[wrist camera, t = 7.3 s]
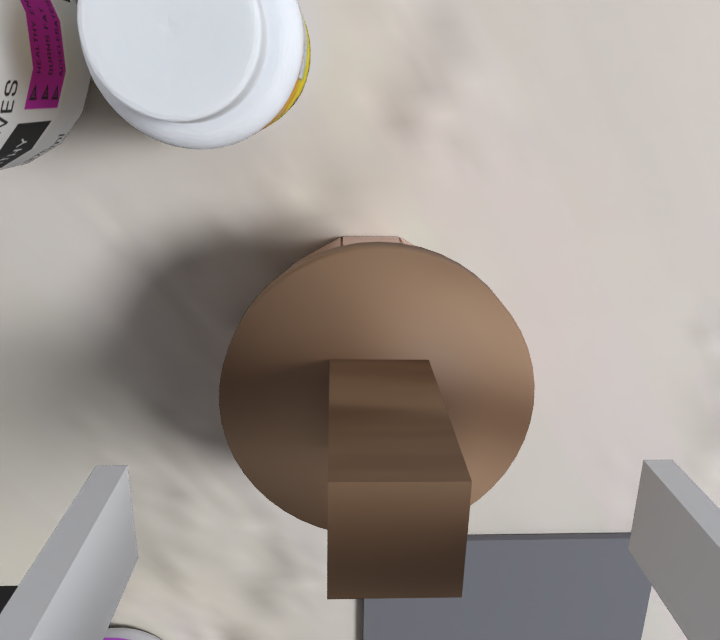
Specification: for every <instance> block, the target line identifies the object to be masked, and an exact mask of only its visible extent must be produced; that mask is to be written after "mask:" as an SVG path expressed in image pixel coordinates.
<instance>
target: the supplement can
mask: <svg viewBox="0 0 720 640" xmlns="http://www.w3.org/2000/svg"><path fill="white" fill-rule="evenodd" d="M90 79H91V74H90V71H89V69H88V66H87V64H86V61H85V58H84V55H83V51H82V46H81V42H80V36H79V32H78V25H77V4H76V1H75V0H0V170H2V169H6V168H10V167H15V166H19V165H23V164H27V163H29V162H31V161H33V160H34V159H36V158H38V157H39V156H41V155H43V154H44V153H46V152H48V151H49V150H51V149H52V148H54V147H56V146H57V145H59V144H60V143H61V142H62V140H63V139H64V138H65V136H66V135H67V133H68V132H69V131H70V129H71V128H72V126H73V125H74V124H75V122H76V121H77V120H78V118H79V117H80V115H81V114H82V112H83V108H84V104H85V100H86V96H87V92H88V87H89V83H90Z"/></svg>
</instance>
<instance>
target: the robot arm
mask: <svg viewBox="0 0 720 640" xmlns="http://www.w3.org/2000/svg"><path fill="white" fill-rule="evenodd" d="M628 550H629V551H630V553H631V554H632V556H633V557H634V559H635V560H636V562H637V563H638V565H639V566H640V568H641V569H642V571H643V572H644V574H645V576H646V577H647V579H648V580H649V582H650V583H651V585H652V586H653V588H654V589H655V591H656V592H657V594H658V595H659V597H660V598H661V600H662V601H663V603H664V604H665V606H666V607H667V609H668V610H669V612H670V613H671V615H672V616H673V618H674V619H675V621H676V622H677V624H678V625H679V627H680V628H681V630H682V631H683V633H684V635H685V636H686V638H687V639H688V640H720V509H719V508H718V507H717V506H716V505H715V504H714V503H713V502H712V501H711V500H710V499H709V497H708V496H707V495H706V494H705V493H704V492H703V491H702V490H701V489H700V488H699V487H698V486H697V485H696V484H695V483H694V482H693V481H692V480H691V479H690V477H689V476H688V475H687V474H686V473H685V472H684V471H683V470H682V469H681V468H680V467H679V466H678V465H677V464H676V463H675V462H674V461H673V460H643V466H642V472H641V478H640V483H639V489H638V495H637V501H636V507H635V513H634V519H633V525H632V530H631V536H630V542H629V548H628ZM137 559H138V553H137V544H136V535H135V526H134V518H133V509H132V500H131V491H130V483H129V474H128V465H112V466H96V467H95V468H94V470H93V472H92V473H91V475H90V476H89V478H88V479H87V481H86V482H85V484H84V485H83V487H82V489H81V490H80V492H79V493H78V495H77V496H76V498H75V499H74V501H73V502H72V504H71V506H70V507H69V509H68V510H67V512H66V513H65V515H64V516H63V518H62V519H61V521H60V523H59V524H58V526H57V527H56V529H55V530H54V532H53V533H52V535H51V536H50V538H49V539H48V541H47V543H46V544H45V546H44V547H43V549H42V550H41V552H40V553H39V555H38V556H37V558H36V560H35V561H34V563H33V564H32V566H31V567H30V569H29V570H28V572H27V573H26V575H25V577H24V578H23V580H22V581H21V583H20V584H19V586H0V640H103V639H104V636H105V634H106V632H107V629H108V627H109V625H110V622H111V620H112V617H113V615H114V613H115V610H116V608H117V606H118V603H119V601H120V599H121V596H122V594H123V592H124V589H125V587H126V585H127V582H128V580H129V578H130V575H131V573H132V570H133V568H134V566H135V563H136V561H137Z"/></svg>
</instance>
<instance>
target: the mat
mask: <svg viewBox="0 0 720 640" xmlns="http://www.w3.org/2000/svg"><path fill="white" fill-rule="evenodd" d="M630 536H631V533H591V534H517V535H467V545H466V556H465V568H464V579H463V591H462V598H385V599H364V610H363V640H641V637H642V631H643V626H644V621H645V616H646V611H647V606H648V601H649V596H650V591H651V586H652V585H651V583H650V582H649V580H648V579H647V577H646V576H645V574H644V572H643V571H642V569H641V568H640V566H639V565H638V563H637V562H636V560H635V559H634V557H633V556H632V554H631V553H630V551H629V550H628V548H629V542H630Z"/></svg>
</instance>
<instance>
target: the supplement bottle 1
mask: <svg viewBox="0 0 720 640" xmlns="http://www.w3.org/2000/svg"><path fill="white" fill-rule="evenodd" d="M103 640H161V639H159V638H157V637H156V636H154V635H151V634H149V633H147V632H143V631H140V630H136V629H131V628H108V629H107V632H106V634H105V636H104V639H103Z"/></svg>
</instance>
